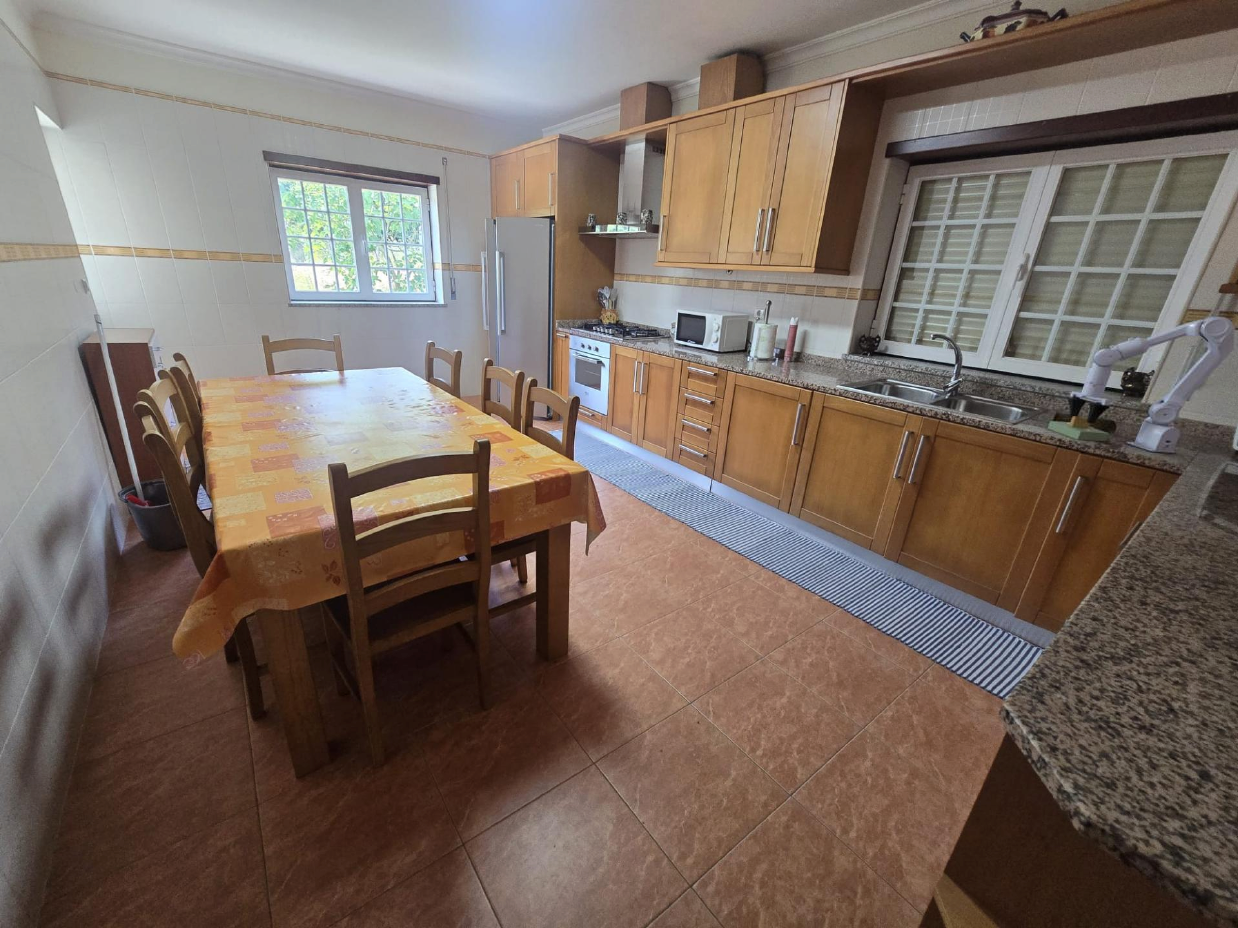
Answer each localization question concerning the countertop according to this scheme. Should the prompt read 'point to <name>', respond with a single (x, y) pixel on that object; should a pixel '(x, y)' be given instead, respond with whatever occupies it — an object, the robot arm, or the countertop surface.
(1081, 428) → the green flat block
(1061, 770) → the countertop surface
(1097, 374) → the robot arm
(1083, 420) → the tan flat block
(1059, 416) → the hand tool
